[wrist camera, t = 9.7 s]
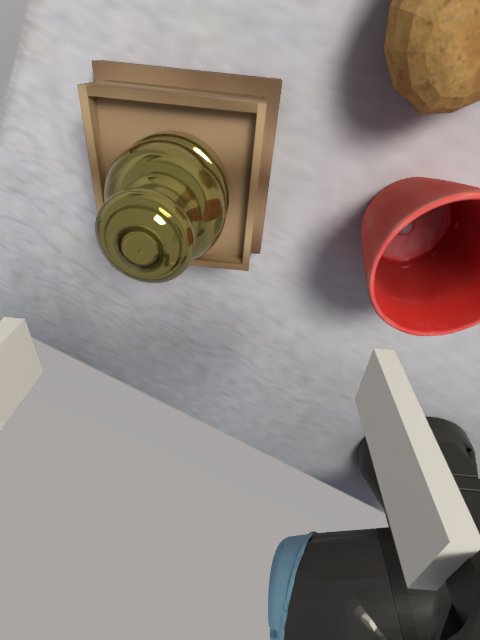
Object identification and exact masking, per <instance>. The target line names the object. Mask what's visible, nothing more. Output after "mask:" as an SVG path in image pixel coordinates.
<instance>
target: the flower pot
mask: <svg viewBox="0 0 480 640" xmlns="http://www.w3.org/2000/svg"><path fill="white" fill-rule="evenodd" d="M361 240H362V251H363V261H364V269H365V277H366V283H367V289H368V294H369V298H370V301H371V303H372V306H373V308H374V309H375V311H376V313H377V314H378V315H379V316H380V317H381V319H382V320H384V321H385V322H386V323H387V324H389V325H390V326H392V327H393V328H395V329H397V330H399V331H402V332H405V333H408V334H412V335H417V336H437V335H445V334H450V333H454V332H458V331H461V330H464V329H467V328H469V327H472V326H474V325H476V324H478V323H480V188H478V187H474V186H469V185H465V184H460V183H456V182H451V181H445V180H439V179H432V178H425V177H412V178H406V179H403V180H400V181H397V182H395V183H393V184H391V185H389V186H387V187H386V188H384V189H383V190H382V191H381V192H379V193H378V194H377V195H376V196H375V197H374V198H373V200H372V201H371V202H370V204H369V205H368V207H367V209H366V211H365V213H364V215H363V218H362V223H361Z"/></svg>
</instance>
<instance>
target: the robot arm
mask: <svg viewBox="0 0 480 640" xmlns="http://www.w3.org/2000/svg"><path fill="white" fill-rule="evenodd" d="M42 373H43V369H42V366H41V364H40V361H39V358H38V355H37V352H36V350H35V347H34V344H33V341H32V338H31V335H30V333H29V330H28V327H27V324H26V321H25V319H22V318H10V317H4V318H3V319H2V320H1V321H0V431H1V430H2V429H3V427H4V426H5V424H6V423H7V422H8V420H9V419H10V417H11V416H12V415H13V413H14V412H15V411H16V409H17V408H18V406H19V405H20V404H21V402H22V401H23V400H24V398H25V397H26V395H27V394H28V393H29V391H30V390H31V389H32V387H33V386H34V384H35V383H36V381H37V380H38V379H39V378H40V376H41V375H42ZM355 400H356V404H357V407H358V411H359V415H360V418H361V422H362V426H363V429H364V433H365V436H366V438H365V439H364V440H363V441H362V442H361V444H360V446H359V448H358V452H357V457H358V461H359V465H360V469H361V472H362V475H363V476H364V478H365V480H366V481H367V483H368V484H369V486H370V488H371V489H372V491H373V493H374V494H375V496H376V498H377V499H378V501H379V502H380V504H381V506H382V507H383V509H384V511H385V514H386V518H387V522H388V525H389V527H387V528H376V529H364V530H351V531H339V532H326V533H316V532H310V533H309V534H307V535H299V536H292V537H288V538H286V539H284V540H283V541H282V542H281V543H280V544H279V546H278V547H277V550H276V552H275V555H274V558H273V562H272V567H271V573H270V581H269V595H268V622H269V627H270V640H480V479H478V472H477V465H476V458H475V452H474V449H473V446H472V444H471V442H470V441H469V439H468V437H467V435H466V433H465V432H464V431H463V430H462V429H461V428H460V427H459V426H458V425H456V424H454V423H452V422H449V421H446V420H443V419H437V418H426V417H425V415H424V413H423V411H422V409H421V406H420V404H419V402H418V400H417V398H416V396H415V394H414V391H413V389H412V387H411V385H410V383H409V381H408V378H407V376H406V374H405V372H404V370H403V368H402V366H401V363H400V361H399V359H398V357H397V355H396V353H395V350H389V349H377V348H374V349H373V352H372V354H371V357H370V360H369V362H368V365H367V368H366V371H365V373H364V376H363V379H362V381H361V384H360V387H359V389H358V392H357V395H356V397H355Z"/></svg>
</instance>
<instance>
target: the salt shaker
mask: <svg viewBox="0 0 480 640" xmlns="http://www.w3.org/2000/svg"><path fill="white" fill-rule="evenodd" d="M229 193H230V189H229V180H228V176H227V173H226V170H225V168H224V165H223V163H222V162H221V160H220V158H219V157H218V155H217V154H216V153H215V152H214V150H213V149H212V148H211V147H210V146H209V145H208V144H206V143H205V142H204V141H202V140H201V139H199V138H197V137H196V136H194V135H191V134H189V133H186V132H182V131H176V130H165V131H159V132H156V133H153V134H151V135H149V136H147V137H145V138H142V139H140V140H139V141H137V142H136V143H134V144H133V145H132V146H130V147H128V148H127V149H126V150H124V151H123V152H122V153H121V154H120V155H119V156H118V157H117V158H116V159H115V160H114V162H113V163H112V165H111V167H110V168H109V171H108V173H107V176H106V180H105V186H104V201H105V202H104V204H103V205H102V207H101V208H100V210H99V213H98V215H97V218H96V224H95V232H96V238H97V242H98V245H99V247H100V249H101V251H102V253H103V255H104V256H105V258H106V259H107V260H108V261H109V262H110V264H111V265H112V266H113V267H115V268H116V269H117V270H118V271H120V272H121V273H122V274H124V275H126V276H128V277H130V278H132V279H135V280H137V281H141V282H146V283H161V282H166V281H169V280H172V279H174V278H176V277H178V276H179V275H180V274H182V273H183V272H184V271H185V270H186V268H187V267H188V266H189V264H190V262H191V261H192V260H193V259H195V258H198V257H200V256H201V255H203V254H204V253H206V252H207V251H208V250H209V249H211V248H212V246H213V245H214V244H215V243H216V242H217V240H218V239H219V237H220V235H221V233H222V231H223V228H224V225H225V221H226V215H227V212H228V205H229Z"/></svg>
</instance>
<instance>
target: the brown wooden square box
mask: <svg viewBox="0 0 480 640" xmlns="http://www.w3.org/2000/svg"><path fill="white" fill-rule="evenodd" d="M92 67H93V74H94V82H91V83H84V84H78V85H77V86H78V92H79V98H80V105H81V111H82V117H83V123H84V130H85V136H86V142H87V149H88V155H89V161H90V167H91V174H92V180H93V186H94V193H95V199H96V205H97V211H98V213H99V210H100V208H101V207H102V205H103V204H104V202H105V201H104V186H105V180H106V176H107V173H108V171H109V168H110V167H111V165H112V163H113V162H114V160H115V159H116V158H117V157H118V156H119V155H120V154H121V153H122V152H123V151H124V150H126V149H127V148H128V147H130V146H132V145H133V144H134V143H136V142H137V141H139V140H140V139H142V138H145V137H147V136H149V135H151V134H153V133H156V132H159V131H165V130H176V131H182V132H186V133H189V134H191V135H194V136H196V137H197V138H199V139H201V140H202V141H204V142H205V143H206V144H208V145H209V146H210V147H211V148H212V149H213V150H214V152H215V153H216V154H217V155H218V157H219V158H220V160H221V162H222V163H223V165H224V168H225V170H226V173H227V176H228V180H229V189H230V193H229V205H228V212H227V215H226V221H225V225H224V228H223V231H222V233H221V235H220V237H219V239H218V240H217V242H216V243H215V244H214V245H213V246H212V248H211V249H209V250H208V251H207V252H206V253H204V254H203V255H201V256H200V257H198V258H195V259H193V260H192V261H191V262H190V264H189V265H193V266H203V267H214V268H224V269H234V270H244V271H248V268H249V259H250V253H257V254H260V249H261V241H262V233H263V226H264V218H265V210H266V202H267V195H268V187H269V179H270V171H271V164H272V156H273V148H274V141H275V133H276V125H277V117H278V110H279V102H280V94H281V86H282V80H281V79H275V78H266V77H256V76H246V75H237V74H227V73H218V72H208V71H199V70H189V69H180V68H170V67H161V66H151V65H142V64H132V63H123V62H113V61H104V60H96V61H92Z"/></svg>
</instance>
